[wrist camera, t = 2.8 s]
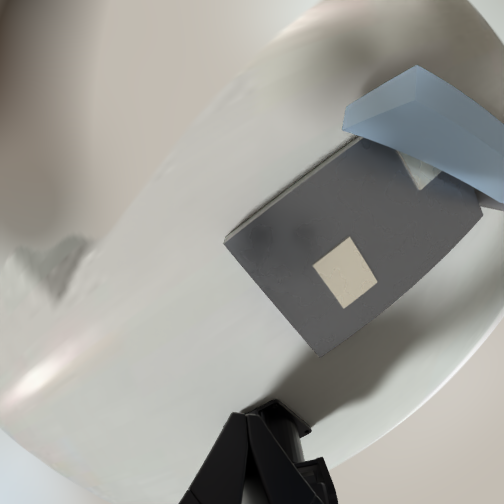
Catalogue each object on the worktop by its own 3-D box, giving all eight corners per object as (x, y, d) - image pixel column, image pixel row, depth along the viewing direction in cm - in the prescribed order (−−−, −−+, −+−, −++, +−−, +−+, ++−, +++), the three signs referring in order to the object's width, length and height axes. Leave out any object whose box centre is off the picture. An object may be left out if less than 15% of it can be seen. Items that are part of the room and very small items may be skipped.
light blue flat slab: (488, 184, 19) (578, 200, 8) (484, 209, 19) (574, 233, 9) (329, 112, 17) (417, 55, 7) (323, 144, 18) (413, 111, 7)
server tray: (468, 212, 19) (484, 215, 17) (314, 343, 22) (320, 359, 20) (411, 99, 17) (426, 93, 15) (225, 237, 19) (223, 244, 17)
